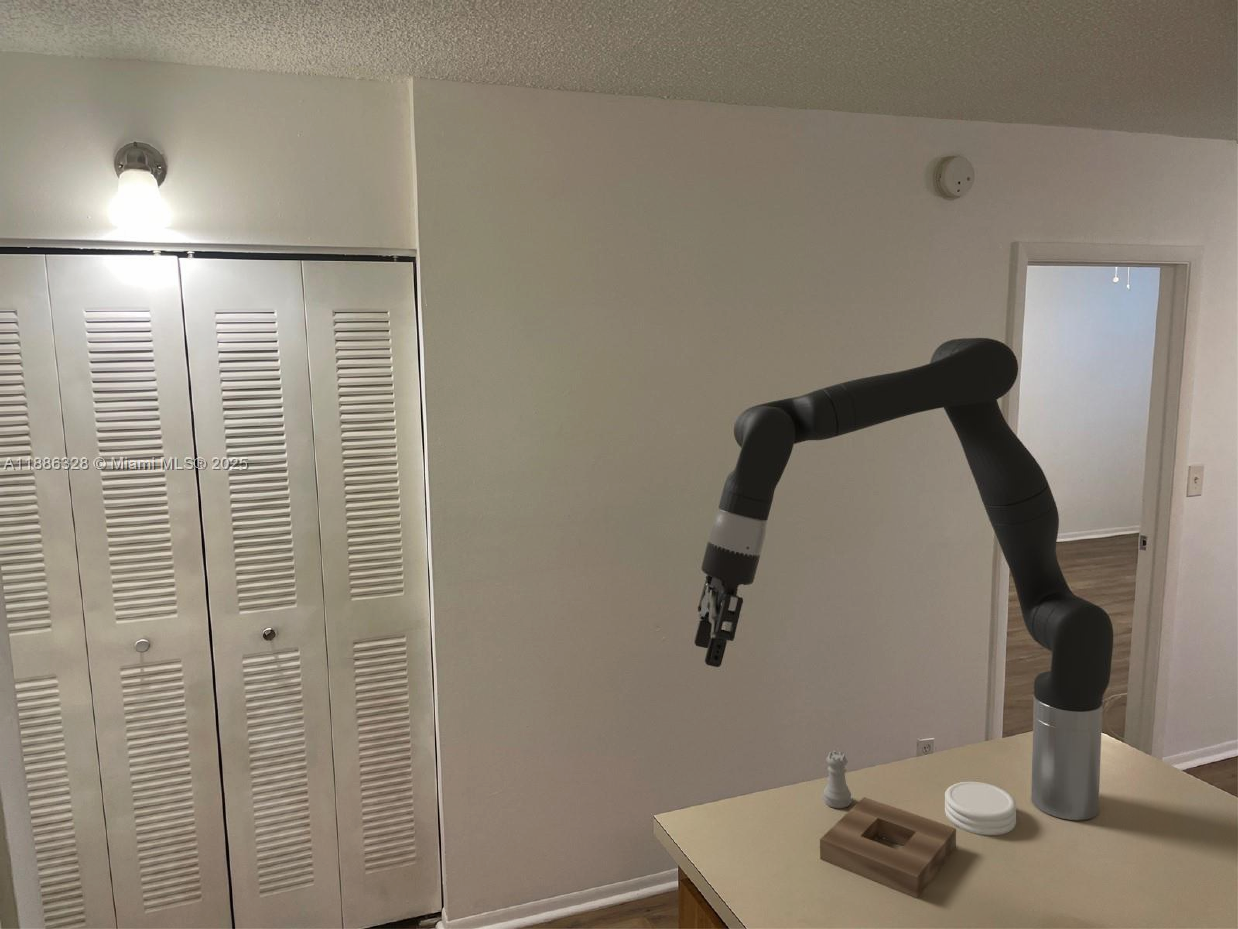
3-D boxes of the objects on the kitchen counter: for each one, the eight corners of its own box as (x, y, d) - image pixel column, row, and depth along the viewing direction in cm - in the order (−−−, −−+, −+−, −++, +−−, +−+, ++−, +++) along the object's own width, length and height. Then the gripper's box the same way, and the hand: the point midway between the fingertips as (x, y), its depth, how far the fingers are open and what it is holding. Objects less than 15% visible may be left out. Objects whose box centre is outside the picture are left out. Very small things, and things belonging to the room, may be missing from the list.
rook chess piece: (852, 810, 131) (852, 762, 130) (823, 808, 132) (822, 761, 131) (850, 795, 135) (850, 749, 134) (822, 793, 136) (821, 747, 135)
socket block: (864, 815, 129) (863, 797, 129) (955, 847, 120) (956, 828, 120) (820, 858, 119) (819, 839, 119) (917, 898, 110) (917, 877, 109)
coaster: (1009, 804, 131) (1009, 783, 131) (1022, 841, 122) (1022, 818, 121) (941, 798, 134) (941, 777, 133) (948, 833, 124) (948, 811, 124)
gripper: (773, 561, 111) (742, 678, 112) (748, 542, 125) (721, 645, 126) (718, 549, 110) (688, 666, 111) (700, 530, 124) (673, 635, 125)
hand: (706, 655), depth 119 cm, fingers open, 8 cm apart
